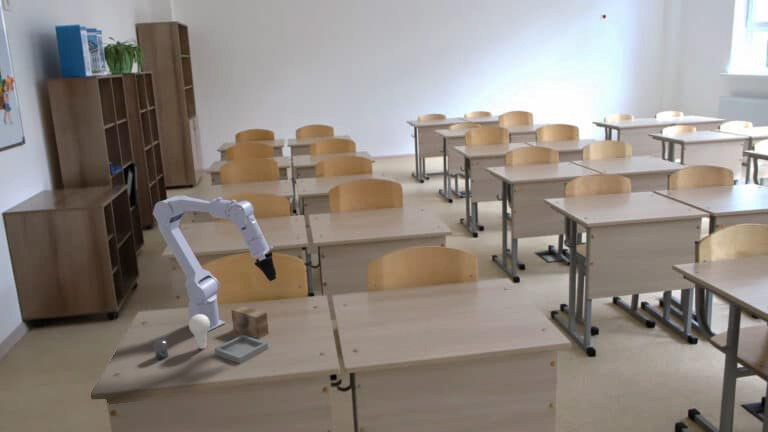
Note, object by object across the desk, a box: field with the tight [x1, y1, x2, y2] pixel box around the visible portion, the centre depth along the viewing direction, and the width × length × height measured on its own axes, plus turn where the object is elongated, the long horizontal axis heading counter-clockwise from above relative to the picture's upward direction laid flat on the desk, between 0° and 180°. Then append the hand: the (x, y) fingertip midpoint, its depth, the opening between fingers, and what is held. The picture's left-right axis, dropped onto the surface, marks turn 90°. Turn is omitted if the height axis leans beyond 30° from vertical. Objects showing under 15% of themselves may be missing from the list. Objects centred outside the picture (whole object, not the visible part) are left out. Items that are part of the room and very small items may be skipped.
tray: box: [214, 334, 269, 365], centre depth 189 cm, size 11×11×2 cm
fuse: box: [153, 338, 170, 361], centre depth 187 cm, size 4×4×5 cm
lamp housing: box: [230, 305, 269, 339], centre depth 201 cm, size 12×5×7 cm, turn 54°
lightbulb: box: [188, 314, 210, 350], centre depth 190 cm, size 6×6×11 cm
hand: (273, 277), depth 195 cm, fingers open, 7 cm apart
